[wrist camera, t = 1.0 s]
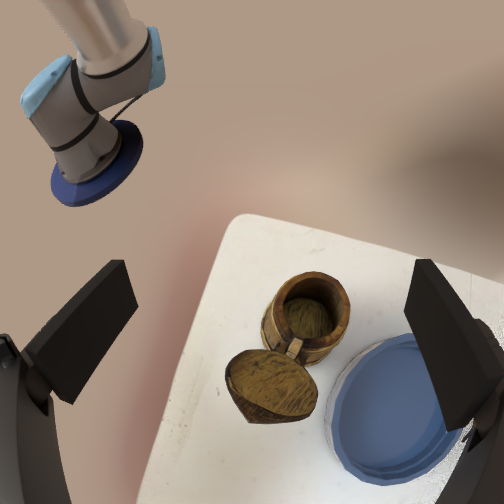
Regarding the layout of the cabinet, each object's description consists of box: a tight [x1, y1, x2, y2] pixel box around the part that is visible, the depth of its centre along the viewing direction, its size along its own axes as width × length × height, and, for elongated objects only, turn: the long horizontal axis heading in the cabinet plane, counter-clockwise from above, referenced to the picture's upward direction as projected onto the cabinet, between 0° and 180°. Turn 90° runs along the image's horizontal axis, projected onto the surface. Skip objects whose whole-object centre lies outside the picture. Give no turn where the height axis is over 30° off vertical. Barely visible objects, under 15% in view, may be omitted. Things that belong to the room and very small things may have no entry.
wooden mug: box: [225, 271, 350, 424], centre depth 23 cm, size 9×14×18 cm, turn 149°
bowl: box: [324, 333, 463, 486], centre depth 25 cm, size 18×18×4 cm
